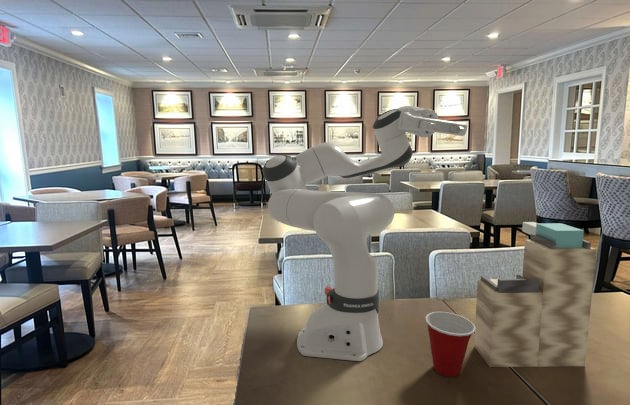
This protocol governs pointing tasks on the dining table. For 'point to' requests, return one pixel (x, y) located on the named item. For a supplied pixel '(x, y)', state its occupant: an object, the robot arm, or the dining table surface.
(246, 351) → the dining table surface
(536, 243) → the zigzag stepped block
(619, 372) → the dining table surface
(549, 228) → the plug
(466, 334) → the plastic cup
